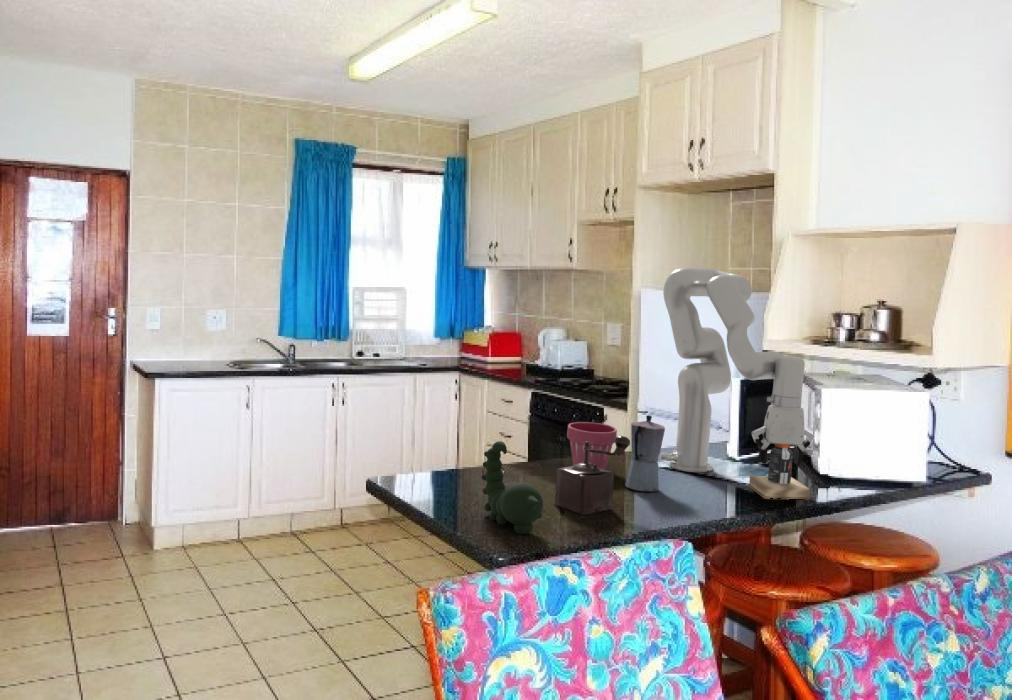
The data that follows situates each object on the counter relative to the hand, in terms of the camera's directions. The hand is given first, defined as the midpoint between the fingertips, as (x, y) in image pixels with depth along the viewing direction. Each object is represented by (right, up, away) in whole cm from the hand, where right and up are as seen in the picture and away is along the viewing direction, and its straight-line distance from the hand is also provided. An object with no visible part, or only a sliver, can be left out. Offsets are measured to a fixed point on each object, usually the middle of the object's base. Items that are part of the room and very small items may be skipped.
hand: (779, 463), depth 239 cm
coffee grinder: (-53, -8, -21) cm, 58 cm away
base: (0, -8, +1) cm, 8 cm away
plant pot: (-51, -4, +15) cm, 53 cm away
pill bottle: (0, -5, 0) cm, 5 cm away
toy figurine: (-74, -9, -39) cm, 84 cm away
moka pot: (-38, -7, -3) cm, 39 cm away
